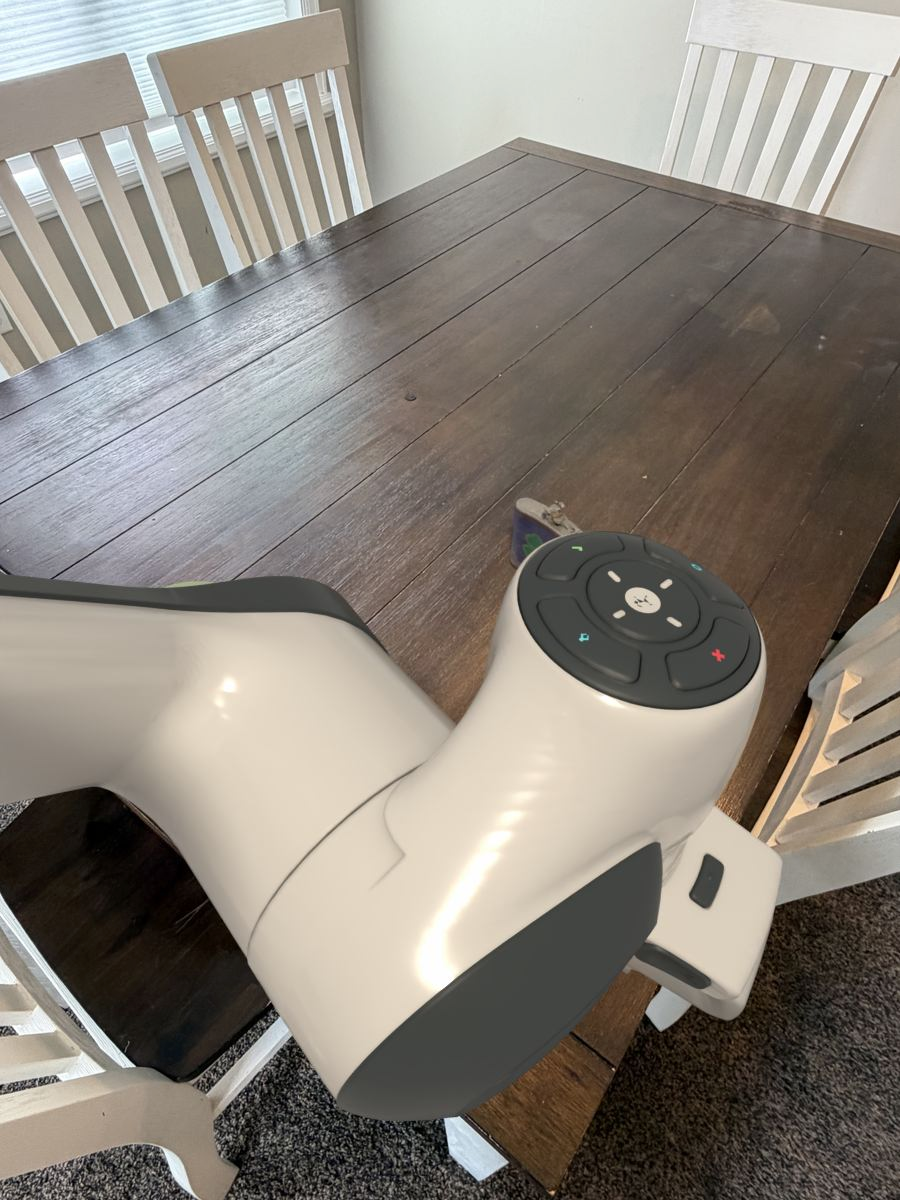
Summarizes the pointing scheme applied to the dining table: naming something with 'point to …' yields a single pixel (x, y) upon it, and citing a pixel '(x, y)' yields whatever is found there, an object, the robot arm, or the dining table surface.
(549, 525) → the flask
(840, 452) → the dining table surface
